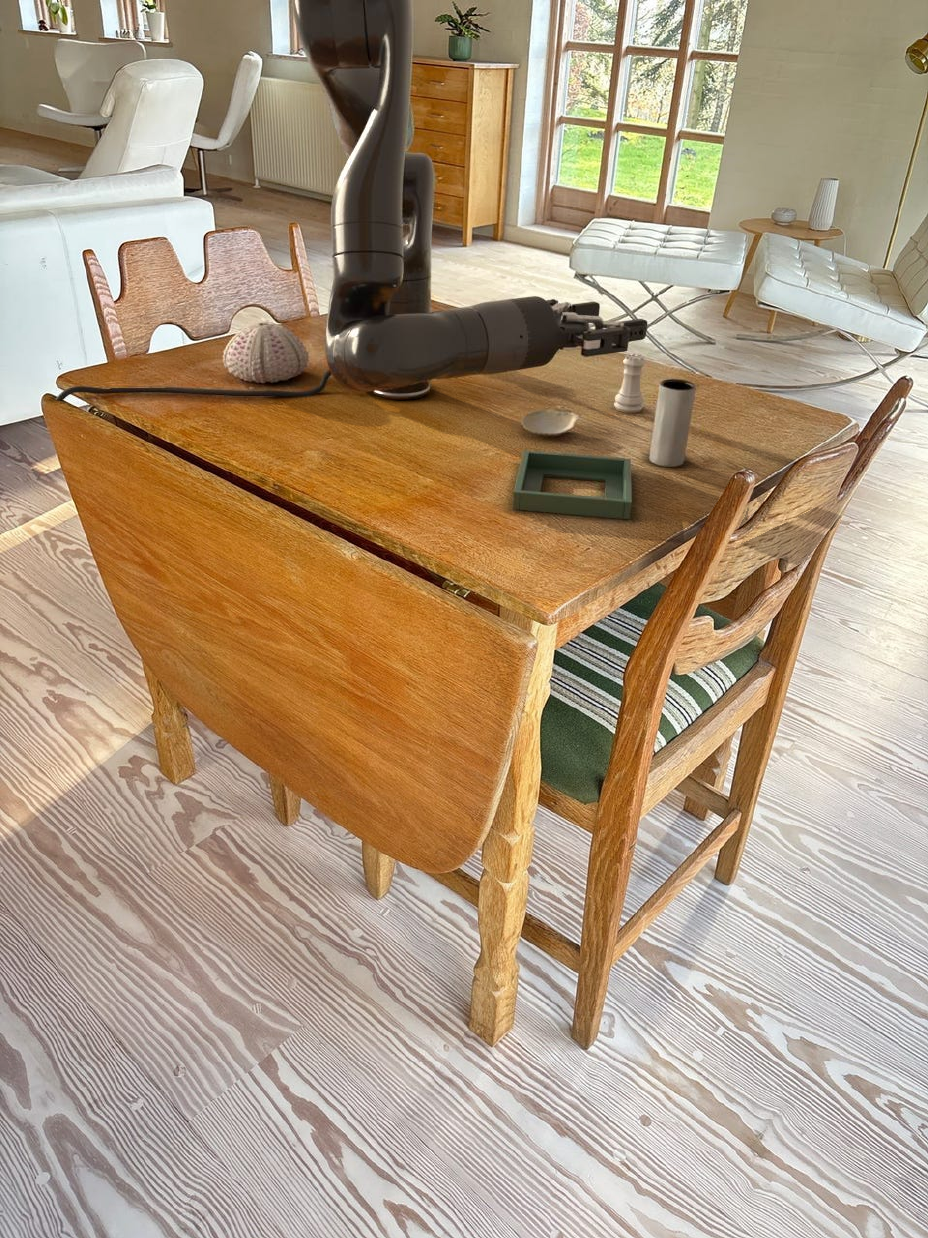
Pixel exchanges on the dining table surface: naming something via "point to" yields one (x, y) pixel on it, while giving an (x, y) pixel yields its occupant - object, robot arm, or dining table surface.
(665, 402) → the white hollow cylinder
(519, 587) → the dining table surface
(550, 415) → the seashell
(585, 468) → the green square frame
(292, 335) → the sea urchin shell
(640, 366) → the rook chess piece
